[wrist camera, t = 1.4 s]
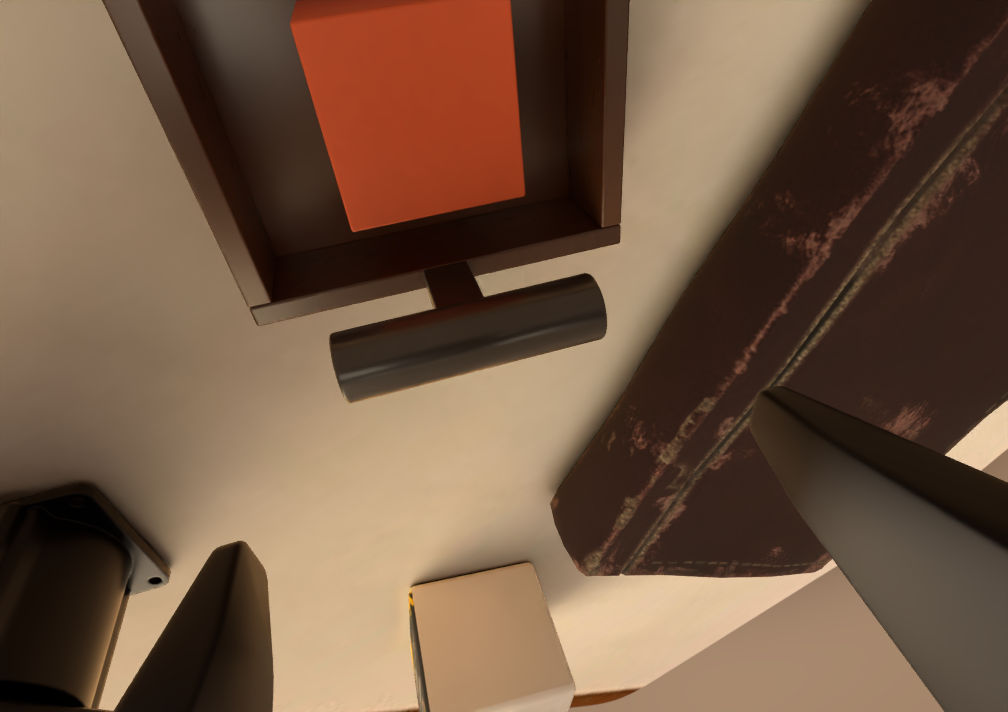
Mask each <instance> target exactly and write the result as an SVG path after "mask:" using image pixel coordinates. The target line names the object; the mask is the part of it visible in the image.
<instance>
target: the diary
mask: <svg viewBox="0 0 1008 712" xmlns="http://www.w3.org/2000/svg"><path fill="white" fill-rule="evenodd" d="M774 386H784V387H787V388H789V389H791V390H794V391H796V392H798V393H801V394H803V395H805V396H808V397H810V398H812V399H815V400H817V401H819V402H822V403H824V404H826V405H829V406H831V407H833V408H836V409H838V410H840V411H843V412H845V413H847V414H850V415H852V416H854V417H857V418H859V419H861V420H864V421H866V422H868V423H870V424H873V425H875V426H877V427H880V428H882V429H884V430H887V431H889V432H891V433H894V434H896V435H898V436H901V437H903V438H905V439H908V440H910V441H912V442H915V443H917V444H919V445H922V446H924V447H926V448H929V449H931V450H933V451H936V452H938V453H940V454H943V455H945V454H946V453H947V452H948V451H950V450H951V449H952V448H953V447H954V446H955V445H956V444H957V443H958V442H959V441H960V440H961V439H963V438H964V437H965V436H966V435H967V434H968V433H969V432H970V431H971V430H972V429H973V428H974V427H976V426H977V425H978V424H979V423H980V422H981V421H982V420H983V419H984V418H985V417H987V416H988V415H989V414H990V413H992V412H993V411H994V410H995V409H997V408H998V407H999V406H1001V405H1002V404H1003V403H1004V402H1006V401H1007V400H1008V0H872V1H871V2H870V4H869V6H868V7H867V9H866V11H865V12H864V14H863V16H862V17H861V19H860V20H859V22H858V24H857V25H856V27H855V29H854V30H853V32H852V34H851V35H850V37H849V38H848V40H847V42H846V43H845V45H844V47H843V48H842V50H841V52H840V53H839V55H838V56H837V58H836V60H835V61H834V63H833V65H832V66H831V68H830V70H829V71H828V73H827V74H826V76H825V78H824V79H823V81H822V83H821V84H820V86H819V87H818V89H817V91H816V92H815V94H814V96H813V97H812V99H811V101H810V102H809V104H808V105H807V107H806V109H805V110H804V112H803V114H802V115H801V117H800V119H799V120H798V122H797V123H796V125H795V127H794V128H793V130H792V132H791V133H790V135H789V137H788V138H787V140H786V141H785V143H784V145H783V146H782V148H781V150H780V151H779V153H778V155H777V156H776V158H775V159H774V160H773V162H772V163H771V165H770V166H769V168H768V169H767V171H766V172H765V174H764V175H763V177H762V178H761V180H760V181H759V183H758V184H757V186H756V187H755V189H754V190H753V192H752V193H751V195H750V196H749V198H748V199H747V201H746V202H745V204H744V205H743V207H742V208H741V210H740V211H739V212H738V214H737V215H736V217H735V218H734V220H733V221H732V223H731V224H730V226H729V227H728V229H727V230H726V232H725V233H724V235H723V236H722V238H721V239H720V241H719V242H718V244H717V245H716V247H715V248H714V250H713V251H712V253H711V254H710V256H709V257H708V259H707V260H706V261H705V263H704V264H703V266H702V267H701V269H700V270H699V272H698V273H697V275H696V276H695V278H694V279H693V281H692V282H691V284H690V285H689V287H688V288H687V290H686V291H685V293H684V294H683V296H682V297H681V299H680V300H679V302H678V304H677V305H676V307H675V309H674V310H673V312H672V314H671V315H670V317H669V319H668V320H667V322H666V324H665V325H664V327H663V329H662V330H661V332H660V334H659V335H658V337H657V339H656V340H655V342H654V344H653V345H652V347H651V349H650V350H649V352H648V354H647V355H646V357H645V359H644V360H643V362H642V364H641V365H640V367H639V369H638V371H637V372H636V374H635V376H634V377H633V379H632V381H631V382H630V384H629V386H628V387H627V389H626V391H625V392H624V394H623V396H622V397H621V399H620V401H619V402H618V404H617V406H616V407H615V409H614V410H613V412H612V413H611V415H610V416H609V418H608V419H607V421H606V422H605V423H604V425H603V426H602V428H601V429H600V431H599V432H598V433H597V435H596V436H595V438H594V439H593V441H592V442H591V444H590V445H589V446H588V448H587V449H586V451H585V452H584V454H583V455H582V456H581V458H580V459H579V461H578V462H577V464H576V465H575V466H574V468H573V469H572V471H571V472H570V474H569V475H568V477H567V478H566V479H565V481H564V482H563V484H562V485H561V487H560V488H559V490H558V491H557V493H556V494H555V496H554V498H553V499H552V501H551V503H550V505H551V509H552V513H553V518H554V522H555V525H556V528H557V530H558V533H559V535H560V537H561V540H562V542H563V545H564V547H565V548H566V550H567V552H568V553H569V555H570V557H571V558H572V560H573V562H574V564H575V565H576V567H577V569H578V570H579V571H581V572H582V573H583V574H584V575H585V576H619V575H620V573H622V574H624V575H675V576H696V577H717V578H728V577H772V576H782V575H792V574H802V573H812V572H816V571H818V570H820V569H822V568H823V567H824V566H825V565H826V564H827V563H828V562H829V561H830V560H831V559H832V557H831V556H830V555H829V553H828V552H827V550H826V549H825V548H824V546H823V545H822V544H821V542H820V541H819V540H818V538H817V537H816V535H815V534H814V533H813V531H812V530H811V529H810V527H809V526H808V524H807V523H806V522H805V520H804V519H803V518H802V516H801V515H800V513H799V512H798V511H797V509H796V508H795V506H794V505H793V503H792V502H791V500H790V498H789V497H788V495H787V494H786V492H785V490H784V488H783V487H782V485H781V483H780V482H779V480H778V478H777V476H776V475H775V473H774V471H773V470H772V468H771V466H770V464H769V463H768V461H767V459H766V458H765V456H764V454H763V453H762V451H761V449H760V447H759V446H758V444H757V442H756V441H755V439H754V437H753V435H752V433H751V430H750V426H749V421H750V417H751V413H752V410H753V406H754V402H755V398H756V395H757V394H758V392H759V391H761V390H764V389H768V388H771V387H774Z"/></svg>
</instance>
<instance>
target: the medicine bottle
mask: <svg viewBox="0 0 1008 712" xmlns="http://www.w3.org/2000/svg"><path fill="white" fill-rule="evenodd" d="M409 616H410V637H411V654H412V661H413V669H414V676H415V683H416V690H417V698H418V705H419V712H568V710H569V707H570V704H571V702H572V699H573V696H574V693H575V690H576V688H575V683H574V680H573V677H572V674H571V672H570V669H569V666H568V663H567V660H566V657H565V654H564V652H563V649H562V646H561V643H560V640H559V637H558V635H557V632H556V629H555V626H554V623H553V620H552V617H551V615H550V612H549V609H548V606H547V603H546V600H545V598H544V595H543V592H542V589H541V586H540V583H539V580H538V578H537V575H536V572H535V569H534V566H533V565H532V564H531V563H522V564H517V565H512V566H508V567H503V568H498V569H493V570H489V571H484V572H479V573H474V574H469V575H465V576H460V577H455V578H450V579H445V580H441V581H436V582H431V583H426V584H421V585H417V586H413V587H412V588H411V589H410V590H409Z"/></svg>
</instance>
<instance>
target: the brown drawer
mask: <svg viewBox="0 0 1008 712" xmlns="http://www.w3.org/2000/svg"><path fill="white" fill-rule="evenodd" d="M102 1H103V3H104V5H105V8H106V10H107V12H108V14H109V16H110V18H111V20H112V22H113V24H114V26H115V29H116V31H117V33H118V35H119V37H120V39H121V41H122V43H123V45H124V47H125V50H126V52H127V54H128V56H129V58H130V60H131V62H132V64H133V66H134V68H135V71H136V73H137V75H138V77H139V79H140V81H141V83H142V85H143V87H144V89H145V92H146V94H147V96H148V98H149V100H150V102H151V104H152V106H153V108H154V110H155V113H156V115H157V117H158V119H159V121H160V123H161V125H162V127H163V129H164V132H165V134H166V136H167V138H168V140H169V142H170V144H171V146H172V148H173V150H174V153H175V155H176V157H177V159H178V161H179V163H180V165H181V167H182V169H183V171H184V174H185V176H186V178H187V180H188V182H189V184H190V186H191V188H192V190H193V192H194V195H195V197H196V199H197V201H198V203H199V205H200V207H201V209H202V211H203V213H204V216H205V218H206V220H207V222H208V224H209V226H210V228H211V230H212V232H213V234H214V237H215V239H216V241H217V243H218V245H219V247H220V249H221V251H222V253H223V255H224V258H225V260H226V262H227V264H228V266H229V268H230V270H231V272H232V274H233V276H234V279H235V281H236V283H237V285H238V287H239V289H240V291H241V293H242V295H243V297H244V300H245V302H246V304H247V306H248V307H250V312H251V314H252V316H253V318H254V320H255V322H256V324H257V325H258V326H261V325H266V324H270V323H274V322H279V321H283V320H287V319H292V318H296V317H300V316H305V315H309V314H313V313H318V312H322V311H326V310H331V309H335V308H339V307H344V306H348V305H352V304H357V303H361V302H366V301H370V300H374V299H379V298H383V297H387V296H392V295H396V294H400V293H405V292H409V291H413V290H418V289H422V288H426V287H427V290H428V293H429V296H430V299H431V302H432V305H433V308H434V309H432V310H427V311H423V312H419V313H415V314H410V315H406V316H402V317H398V318H394V319H389V320H385V321H381V322H377V323H372V324H368V325H364V326H360V327H356V328H351V329H347V330H343V331H339V332H334V333H332V334H331V335H330V339H329V344H330V352H331V358H332V362H333V367H334V370H335V374H336V378H337V381H338V384H339V387H340V389H341V392H342V394H343V396H344V398H345V400H346V401H347V402H348V403H355V402H358V401H362V400H366V399H370V398H374V397H378V396H382V395H386V394H390V393H393V392H397V391H401V390H405V389H409V388H413V387H417V386H421V385H425V384H428V383H432V382H436V381H440V380H444V379H448V378H452V377H456V376H460V375H463V374H467V373H471V372H475V371H479V370H483V369H487V368H491V367H495V366H499V365H502V364H506V363H510V362H514V361H518V360H522V359H526V358H530V357H534V356H537V355H541V354H545V353H549V352H553V351H557V350H561V349H565V348H569V347H572V346H576V345H580V344H584V343H588V342H592V341H596V340H600V339H602V338H603V337H604V336H605V334H606V329H607V314H606V308H605V303H604V299H603V296H602V293H601V290H600V288H599V286H598V284H597V282H596V281H595V279H594V278H593V277H592V276H591V275H590V274H587V273H584V274H580V275H575V276H571V277H567V278H563V279H558V280H554V281H550V282H546V283H542V284H537V285H533V286H529V287H525V288H520V289H516V290H512V291H508V292H504V293H499V294H495V295H491V296H487V297H484V296H483V294H482V292H481V290H480V288H479V286H478V284H477V282H476V280H475V278H474V276H479V275H483V274H487V273H492V272H496V271H500V270H505V269H509V268H513V267H518V266H522V265H526V264H531V263H535V262H539V261H544V260H548V259H553V258H557V257H561V256H566V255H570V254H574V253H579V252H583V251H587V250H592V249H596V248H600V247H605V246H609V245H613V244H618V243H619V242H620V223H621V202H622V177H623V152H624V127H625V102H626V77H627V52H628V27H629V2H630V0H511V12H512V25H513V38H514V51H515V64H516V77H517V90H518V103H519V116H520V130H521V143H522V156H523V169H524V182H525V196H523V197H518V198H513V199H508V200H504V201H499V202H494V203H489V204H485V205H480V206H475V207H470V208H466V209H461V210H456V211H451V212H446V213H442V214H437V215H432V216H427V217H423V218H418V219H413V220H408V221H404V222H399V223H394V224H389V225H385V226H380V227H375V228H370V229H366V230H361V231H356V232H353V231H352V230H351V227H350V224H349V221H348V217H347V214H346V211H345V207H344V204H343V201H342V197H341V194H340V191H339V187H338V184H337V181H336V177H335V174H334V170H333V167H332V164H331V160H330V157H329V154H328V150H327V147H326V144H325V140H324V137H323V134H322V130H321V127H320V124H319V120H318V117H317V114H316V110H315V107H314V104H313V100H312V97H311V94H310V90H309V87H308V84H307V80H306V77H305V74H304V70H303V67H302V64H301V60H300V57H299V54H298V50H297V47H296V44H295V40H294V37H293V34H292V30H291V27H290V21H291V18H292V14H293V10H294V6H295V2H296V1H298V0H102Z"/></svg>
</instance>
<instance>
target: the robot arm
mask: <svg viewBox="0 0 1008 712" xmlns="http://www.w3.org/2000/svg"><path fill="white" fill-rule="evenodd" d="M749 426H750V430H751V433H752V435H753V437H754V439H755V441H756V442H757V444H758V446H759V447H760V449H761V451H762V453H763V454H764V456H765V458H766V459H767V461H768V463H769V464H770V466H771V468H772V470H773V471H774V473H775V475H776V476H777V478H778V480H779V482H780V483H781V485H782V487H783V488H784V490H785V492H786V494H787V495H788V497H789V498H790V500H791V502H792V503H793V505H794V506H795V508H796V509H797V511H798V512H799V513H800V515H801V516H802V518H803V519H804V520H805V522H806V523H807V524H808V526H809V527H810V529H811V530H812V531H813V533H814V534H815V535H816V537H817V538H818V540H819V541H820V542H821V544H822V545H823V546H824V548H825V549H826V550H827V552H828V553H829V555H830V556H831V557H832V559H833V560H834V561H835V563H836V564H837V565H838V567H839V568H840V570H841V571H842V572H843V574H844V575H845V576H846V578H847V579H848V580H849V582H850V583H851V585H852V586H853V587H854V589H855V590H856V591H857V593H858V594H859V596H860V597H861V598H862V600H863V601H864V602H865V604H866V605H867V606H868V608H869V609H870V611H872V613H873V615H874V616H875V617H876V619H877V620H878V621H879V623H880V624H881V625H882V627H883V628H884V630H885V631H886V632H887V633H888V635H889V637H890V638H891V639H892V640H893V642H894V643H895V645H896V646H897V647H898V649H899V650H900V652H901V653H902V654H903V656H904V657H905V658H906V660H907V661H908V662H909V664H910V665H911V667H912V668H913V669H914V671H915V672H916V673H917V675H918V676H919V678H920V679H921V680H922V682H923V683H924V684H925V686H926V687H927V688H928V690H929V691H930V692H931V694H932V695H933V697H934V698H935V699H936V701H937V702H938V703H939V705H940V706H941V708H942V709H943V710H944V712H1008V482H1005V481H1003V480H1000V479H998V478H996V477H994V476H991V475H989V474H987V473H984V472H982V471H980V470H977V469H975V468H973V467H970V466H968V465H966V464H963V463H961V462H959V461H956V460H954V459H952V458H950V457H947V456H945V455H943V454H940V453H938V452H936V451H933V450H931V449H929V448H926V447H924V446H922V445H919V444H917V443H915V442H912V441H910V440H908V439H905V438H903V437H901V436H898V435H896V434H894V433H891V432H889V431H887V430H884V429H882V428H880V427H877V426H875V425H873V424H870V423H868V422H866V421H864V420H861V419H859V418H857V417H854V416H852V415H850V414H847V413H845V412H843V411H840V410H838V409H836V408H833V407H831V406H829V405H826V404H824V403H822V402H819V401H817V400H815V399H812V398H810V397H808V396H805V395H803V394H801V393H798V392H796V391H794V390H791V389H789V388H787V387H784V386H774V387H771V388H768V389H764V390H761V391H759V392H758V394H757V395H756V398H755V402H754V406H753V410H752V413H751V417H750V421H749ZM78 497H79V498H78ZM170 573H171V571H170V569H169V567H168V566H167V565H166V564H165V563H164V562H163V561H162V560H161V559H160V558H159V557H158V556H157V554H156V553H155V552H154V551H153V550H152V549H151V548H150V547H149V546H148V545H147V544H146V543H145V541H144V540H143V539H142V538H141V537H140V536H139V535H138V534H137V533H136V532H135V531H134V529H133V528H132V527H131V526H130V525H129V524H128V523H127V522H126V521H125V520H124V519H123V518H122V516H121V515H120V514H119V513H118V512H117V511H116V510H115V509H114V508H113V507H112V506H111V505H110V503H109V502H108V501H107V500H106V499H105V498H104V497H103V496H102V495H101V494H100V493H99V492H98V490H97V489H95V488H94V487H92V486H89V485H84V484H78V485H72V486H68V487H64V488H60V489H57V490H53V491H49V492H45V493H41V494H37V495H34V496H30V497H26V498H22V499H18V500H14V501H10V502H7V503H3V504H0V712H272V708H273V678H274V675H273V655H272V641H271V626H270V611H269V596H268V582H267V575H266V572H265V569H264V567H263V565H262V564H261V563H260V561H259V560H258V558H257V557H256V556H255V554H254V553H253V551H252V550H251V548H250V547H249V546H248V544H247V543H246V542H244V541H237V542H234V543H230V544H227V545H223V546H220V547H218V548H216V549H215V550H214V551H213V552H212V553H211V555H210V557H209V558H208V560H207V561H206V563H205V565H204V566H203V568H202V569H201V571H200V573H199V574H198V576H197V578H196V579H195V581H194V582H193V584H192V586H191V587H190V589H189V590H188V592H187V594H186V595H185V597H184V598H183V600H182V602H181V603H180V605H179V607H178V608H177V610H176V611H175V613H174V615H173V616H172V618H171V619H170V621H169V623H168V624H167V626H166V628H165V629H164V631H163V632H162V634H161V636H160V637H159V639H158V640H157V642H156V644H155V645H154V647H153V648H152V650H151V652H150V653H149V655H148V657H147V658H146V660H145V661H144V663H143V665H142V666H141V668H140V669H139V671H138V673H137V674H136V676H135V678H134V679H133V681H132V682H131V684H130V686H129V687H128V689H127V690H126V692H125V694H124V695H123V697H122V698H121V700H120V702H119V703H118V705H117V707H116V708H115V710H114V711H109V710H101V709H98V707H99V704H100V700H101V696H102V693H103V689H104V686H105V682H106V678H107V675H108V671H109V668H110V664H111V660H112V657H113V653H114V650H115V646H116V642H117V639H118V635H119V632H120V628H121V624H122V621H123V617H124V614H125V610H126V606H127V603H128V599H129V596H131V595H134V594H137V593H141V592H144V591H148V590H151V589H155V588H158V587H161V586H164V585H166V584H167V583H168V581H169V577H170Z"/></svg>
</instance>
